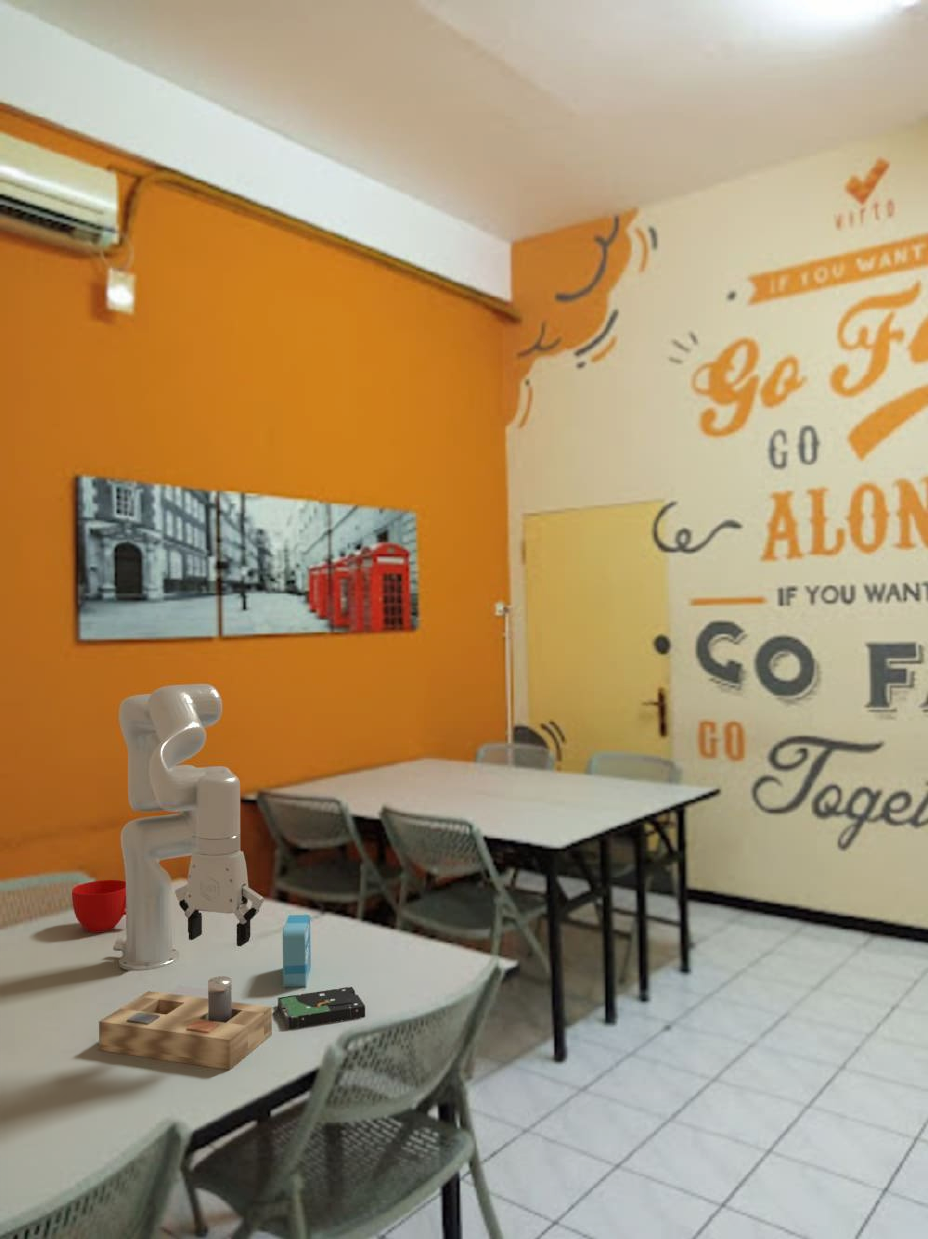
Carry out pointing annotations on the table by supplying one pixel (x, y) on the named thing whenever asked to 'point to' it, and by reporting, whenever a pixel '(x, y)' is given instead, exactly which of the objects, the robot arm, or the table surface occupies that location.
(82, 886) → the ceramic cup
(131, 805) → the robot arm
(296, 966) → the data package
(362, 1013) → the disk drive
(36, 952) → the table surface
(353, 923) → the table surface
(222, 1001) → the plug
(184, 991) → the rubber mat
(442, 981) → the table surface
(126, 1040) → the socket block
